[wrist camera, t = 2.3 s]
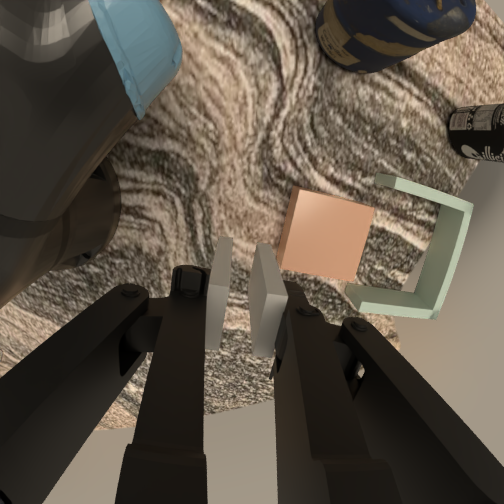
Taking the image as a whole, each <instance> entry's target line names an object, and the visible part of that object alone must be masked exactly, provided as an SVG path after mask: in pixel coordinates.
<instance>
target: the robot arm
mask: <svg viewBox="0 0 504 504" xmlns="http://www.w3.org/2000/svg"><path fill="white" fill-rule="evenodd" d="M181 63H182V46H181V42H180V39H179V37H178V34H177V31H176V29H175V27H174V25H173V23H172V21H171V19H170V18H169V16H168V14H167V12H166V11H165V9H164V8H163V6H162V5H161V3H160V2H159V0H0V309H1V308H2V307H3V306H4V305H6V304H7V303H8V302H9V301H11V300H12V299H13V298H14V297H16V296H17V295H18V294H19V293H21V292H22V291H23V290H24V289H26V288H27V287H28V286H30V285H31V284H32V283H34V282H35V281H36V280H38V279H39V278H40V277H42V276H43V275H44V274H46V273H47V272H48V271H53V270H63V269H72V268H76V267H79V266H82V265H84V264H86V263H88V262H89V261H91V260H92V259H93V258H95V257H96V256H97V255H98V254H100V253H101V252H102V251H103V250H104V249H105V248H106V246H107V245H108V244H109V242H110V241H111V239H112V238H113V236H114V234H115V231H116V229H117V226H118V222H119V217H120V211H121V195H120V188H119V184H118V180H117V177H116V174H115V172H114V169H113V167H112V165H111V164H110V162H109V161H108V159H107V158H106V155H107V154H108V153H109V152H110V150H111V149H112V148H113V147H114V146H115V145H116V143H117V142H118V141H119V140H120V139H121V138H122V136H123V135H124V134H125V133H126V132H127V131H128V130H129V128H130V127H131V126H132V125H133V124H134V123H135V122H136V121H137V120H141V119H142V118H143V117H144V115H145V110H146V109H147V108H148V106H149V105H150V104H151V103H152V102H153V100H154V99H155V98H156V97H157V96H158V95H159V93H160V92H161V91H162V90H163V89H164V88H165V87H166V86H167V85H168V84H169V83H170V81H171V80H172V79H173V78H174V77H175V76H176V74H177V73H178V71H179V68H180V66H181ZM232 246H233V238H230V237H225V236H219V239H218V243H217V247H216V252H215V256H214V260H213V265H212V269H206V268H201V267H197V266H193V265H180V266H177V267H175V268H174V269H173V272H172V282H171V291H170V295H169V296H168V297H164V298H149V292H148V290H147V289H145V288H144V287H142V286H139V285H135V284H131V283H130V284H129V283H126V284H122V285H118V286H116V287H114V288H113V289H112V290H110V291H109V292H107V293H106V294H105V295H103V296H102V297H101V298H100V299H98V300H97V301H96V302H94V303H93V304H92V305H90V306H89V307H88V308H86V309H85V310H84V311H82V312H81V313H80V314H79V315H77V316H76V317H75V318H73V319H72V320H71V321H70V322H68V323H67V324H66V325H65V326H63V327H62V328H61V329H59V330H58V331H57V332H56V333H54V334H53V335H52V336H51V337H49V338H48V339H47V340H46V341H44V342H43V343H42V344H41V345H40V346H38V347H37V348H36V349H35V350H33V351H32V352H31V353H30V354H29V355H27V356H26V357H25V358H24V359H23V360H21V361H20V362H19V363H18V364H17V365H15V366H14V367H13V368H12V369H11V370H9V371H8V372H7V373H6V374H5V375H4V376H2V377H1V378H0V504H42V503H43V502H44V500H45V499H46V498H47V496H48V495H49V493H50V492H51V490H52V489H53V487H54V486H55V484H56V483H57V481H58V480H59V478H60V477H61V476H62V474H63V473H64V471H65V470H66V468H67V467H68V466H69V464H70V462H71V461H72V460H73V458H74V457H75V455H76V454H77V453H78V451H79V450H80V448H81V447H82V445H83V444H84V443H85V441H86V440H87V438H88V437H89V436H90V434H91V433H92V431H93V430H94V429H95V427H96V426H97V424H98V423H99V421H100V420H101V419H102V417H103V416H104V414H105V413H106V412H107V410H108V409H109V408H110V406H111V405H112V403H113V402H114V401H115V399H116V398H117V396H118V395H119V394H120V392H121V391H122V390H123V388H124V387H125V385H126V384H127V383H128V381H129V380H130V379H131V377H132V376H133V374H134V373H135V372H136V370H137V369H138V368H139V366H140V365H141V363H142V362H143V361H144V359H145V358H146V355H147V352H153V356H152V360H151V364H150V368H149V372H148V376H147V380H146V384H145V388H144V392H143V397H142V401H141V405H140V410H139V414H138V419H137V423H136V428H135V433H134V438H133V442H132V444H128V445H127V447H126V449H125V453H124V457H123V462H122V467H121V472H120V477H119V482H118V487H117V493H116V498H115V504H208V500H207V465H206V455H205V454H204V452H203V415H204V361H205V349H210V350H217V351H219V346H220V340H221V334H222V328H223V323H224V317H225V311H226V306H227V300H228V295H229V289H230V276H231V261H232ZM248 296H249V311H250V325H251V340H252V354H253V356H260V357H268V358H272V355H273V351H274V348H275V350H276V356H275V359H274V363H273V366H272V370H271V373H270V377H269V379H270V380H272V377H273V376H274V398H275V423H276V450H277V451H276V453H277V486H278V504H504V467H503V466H502V465H501V463H499V461H498V460H497V459H496V458H495V457H494V455H493V454H492V453H491V452H490V451H489V450H488V449H487V447H486V446H485V445H484V444H483V443H482V442H481V441H480V439H479V438H478V437H477V436H476V435H475V434H474V433H473V431H472V430H471V429H470V428H469V427H468V426H467V425H466V424H465V423H464V422H463V420H462V419H461V418H460V417H459V416H458V415H457V414H456V413H455V412H454V411H453V409H452V408H451V407H450V406H449V405H448V404H447V403H446V402H445V401H444V400H443V398H442V397H441V396H440V395H439V394H438V393H437V392H436V391H435V390H434V389H433V388H432V387H431V386H430V384H429V383H428V382H427V381H426V380H425V379H424V378H423V377H422V376H421V375H420V374H419V373H418V372H417V371H416V370H415V369H414V367H413V366H412V365H411V364H410V363H409V362H408V361H407V360H406V359H405V358H404V357H403V356H402V355H401V354H400V353H399V352H398V351H397V350H396V349H395V348H394V347H393V346H392V344H391V343H390V342H389V341H388V340H387V339H386V338H385V337H384V336H383V335H382V334H381V333H380V332H379V331H378V330H377V329H376V328H375V327H374V326H373V325H372V324H370V323H369V322H367V321H365V320H364V319H362V318H361V319H360V318H358V317H356V318H355V317H348V318H345V319H344V320H343V323H342V325H341V326H337V325H334V324H330V323H327V322H326V321H325V319H324V316H323V314H322V312H321V311H320V310H319V309H317V308H316V307H314V306H311V305H309V302H308V300H307V298H306V296H305V293H304V291H303V289H302V287H301V286H300V285H298V284H297V283H296V282H291V281H285V280H283V279H282V276H281V273H280V270H279V267H278V264H277V261H276V258H275V255H274V253H273V250H272V247H271V244H265V243H259V242H257V245H256V250H255V255H254V260H253V265H252V270H251V275H250V280H249V285H248ZM361 365H363V367H364V370H365V372H364V374H363V376H362V378H360V376H359V375H358V372H359V369H360V367H361Z"/></svg>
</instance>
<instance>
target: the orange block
mask: <svg viewBox="0 0 504 504" xmlns="http://www.w3.org/2000/svg"><path fill="white" fill-rule="evenodd" d="M374 210H375V208H373V207H371V206H369V205H367V204H364V203H362V202H358V201H355V200H351V199H347V198H343V197H339V196H335V195H331V194H327V193H323V192H319V191H315V190H311V189H307V188H302V187H298V186H294V185H293V188H292V192H291V197H290V201H289V205H288V210H287V214H286V218H285V222H284V227H283V231H282V235H281V239H280V243H279V247H278V252H277V256H276V258H277V260H278V263H279V266H280V269H285V270H290V271H296V272H302V273H307V274H313V275H318V276H324V277H330V278H335V279H341V280H347V281H352V282H353V281H354V278H355V275H356V272H357V268H358V265H359V262H360V259H361V255H362V252H363V249H364V245H365V242H366V239H367V235H368V232H369V228H370V224H371V221H372V217H373V213H374Z"/></svg>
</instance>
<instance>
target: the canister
mask: <svg viewBox="0 0 504 504" xmlns="http://www.w3.org/2000/svg"><path fill="white" fill-rule="evenodd" d="M475 15H476V3H475V0H327V2H326V3H325V5H324V7H323V8H322V10H321V11H320V13H319V15H318V17H317V21H316V36H317V39H318V42H319V44H320V46H321V48H322V49H323V51H324V52H325V53H326V55H327V56H328V57H329V58H330V59H331V60H333V61H334V62H335V63H337V64H338V65H340V66H341V67H343V68H345V69H348V70H350V71H354V72H358V73H374V72H378V71H380V70H383V69H385V68H387V67H389V66H391V65H394V64H396V63H398V62H401V61H403V60H405V59H407V58H409V57H411V56H413V55H415V54H417V53H418V52H420V51H422V50H424V49H426V48H429V47H431V46H434V45H435V44H439V43H440V42H442V41H445V40H447V39H450V38H453V37H456V36H458V35H460V34H462V33H464V32H465V31H466V30H467V29H468V28H469V27H470V26H471V25H472V23H473V21H474V19H475Z"/></svg>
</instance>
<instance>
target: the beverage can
mask: <svg viewBox="0 0 504 504" xmlns="http://www.w3.org/2000/svg"><path fill="white" fill-rule="evenodd" d="M449 135H450V139H451V142H452V144H453V146H454V148H455V149H456V151H457V152H458V153H459V154H460V155H462V156H463V157H465V158H471V159H479V160H488V161H495V162H502V163H504V104H491V105H480V106H470V107H461V108H458V109H457V110H455V111H454V113H453V114H452V116H451V118H450V122H449Z"/></svg>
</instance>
